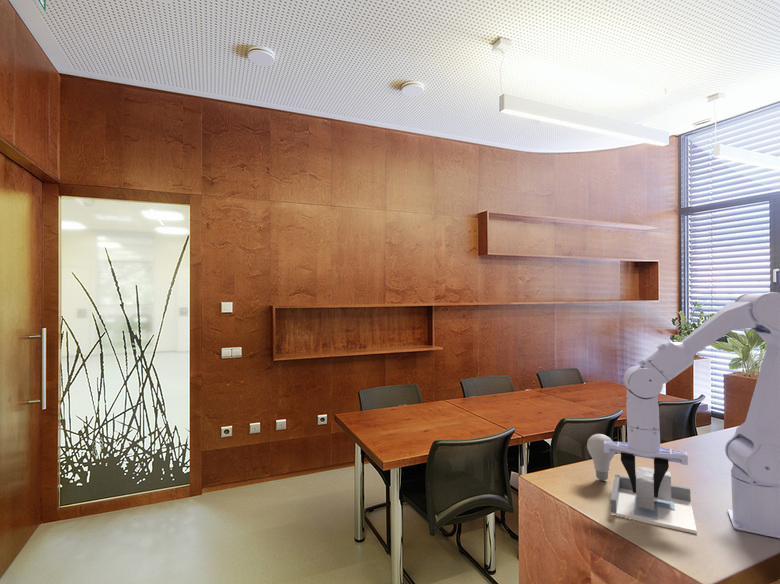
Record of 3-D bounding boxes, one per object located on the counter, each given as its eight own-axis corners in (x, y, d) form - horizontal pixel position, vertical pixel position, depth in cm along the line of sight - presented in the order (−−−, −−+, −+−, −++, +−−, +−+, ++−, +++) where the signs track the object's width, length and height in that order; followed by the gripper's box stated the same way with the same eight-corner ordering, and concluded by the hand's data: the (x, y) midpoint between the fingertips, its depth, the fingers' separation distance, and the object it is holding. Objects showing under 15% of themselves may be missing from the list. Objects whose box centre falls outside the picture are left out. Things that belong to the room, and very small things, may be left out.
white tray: (690, 502, 89) (689, 487, 89) (696, 534, 77) (696, 517, 77) (615, 488, 96) (615, 474, 96) (610, 515, 84) (610, 499, 84)
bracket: (672, 514, 80) (672, 487, 80) (636, 506, 83) (635, 480, 83) (670, 496, 87) (670, 471, 88) (637, 489, 91) (636, 466, 91)
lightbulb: (582, 477, 102) (580, 432, 102) (601, 473, 104) (599, 429, 104) (603, 488, 96) (601, 439, 97) (622, 483, 98) (621, 436, 99)
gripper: (684, 425, 85) (687, 493, 85) (605, 416, 93) (607, 478, 93) (687, 435, 79) (690, 508, 79) (602, 424, 87) (604, 491, 87)
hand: (645, 493), depth 85 cm, fingers closed on bracket, 3 cm apart
